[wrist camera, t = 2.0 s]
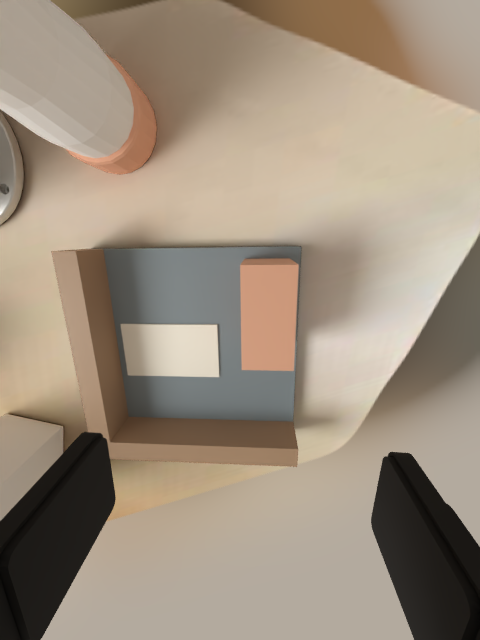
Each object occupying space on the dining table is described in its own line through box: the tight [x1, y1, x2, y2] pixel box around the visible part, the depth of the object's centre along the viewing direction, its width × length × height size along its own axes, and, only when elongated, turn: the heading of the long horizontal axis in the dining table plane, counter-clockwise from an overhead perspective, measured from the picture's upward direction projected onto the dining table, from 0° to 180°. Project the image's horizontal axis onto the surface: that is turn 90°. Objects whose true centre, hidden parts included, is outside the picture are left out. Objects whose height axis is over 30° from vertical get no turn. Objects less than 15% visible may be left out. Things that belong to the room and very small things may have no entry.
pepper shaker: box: [0, 0, 157, 174], centre depth 14 cm, size 7×7×19 cm
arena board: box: [51, 246, 301, 467], centre depth 26 cm, size 20×20×5 cm
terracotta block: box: [240, 258, 299, 371], centre depth 23 cm, size 8×4×6 cm, turn 1°
